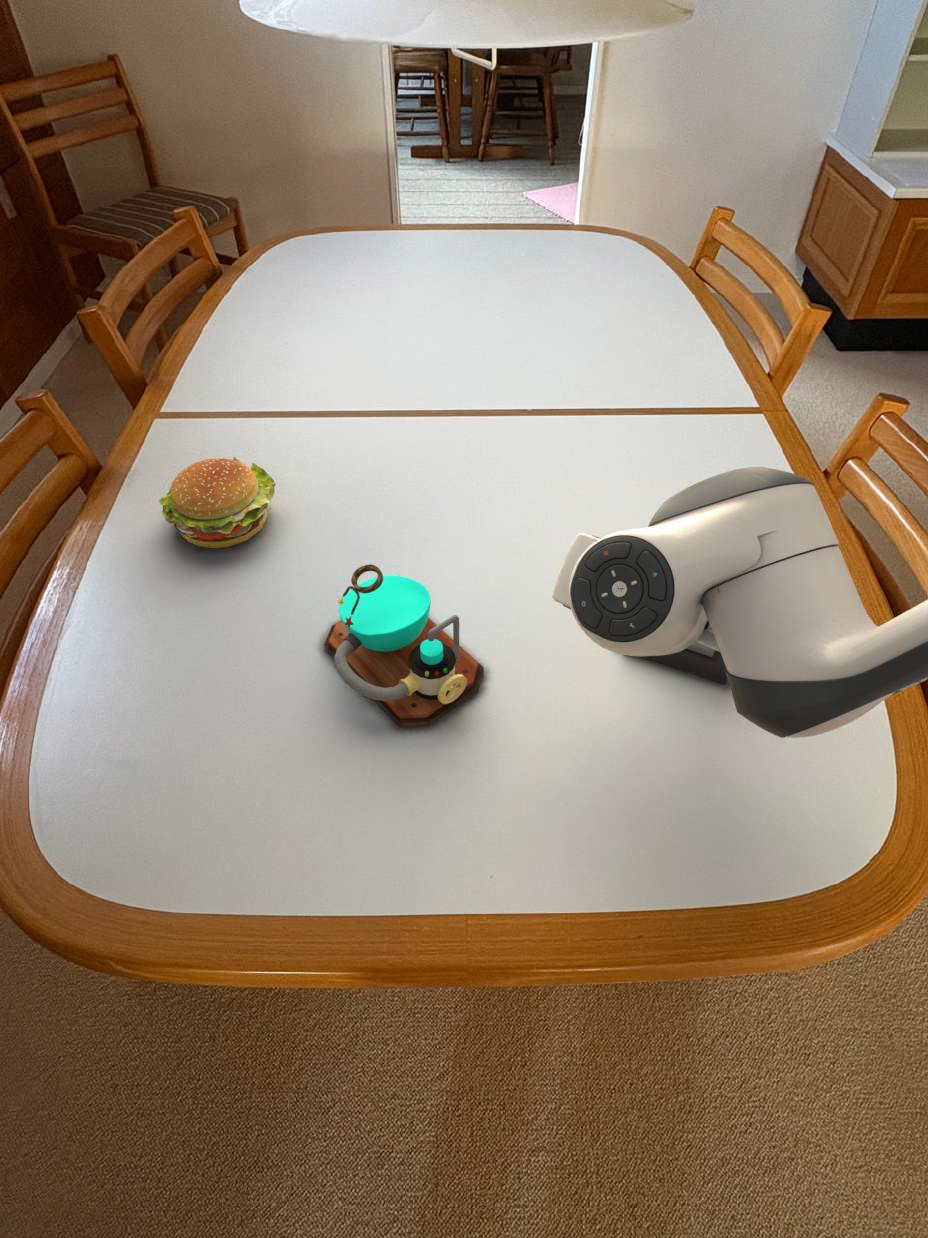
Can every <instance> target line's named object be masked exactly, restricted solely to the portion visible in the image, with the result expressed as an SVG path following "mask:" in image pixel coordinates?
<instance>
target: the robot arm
mask: <svg viewBox="0 0 928 1238" xmlns="http://www.w3.org/2000/svg"><path fill="white" fill-rule="evenodd" d="M839 546H840V542H839V540H838V538H837V536H836V533H835V531H834V528H833V525H832V524H831V520H830V518H829V516H828V514H827V512H826V510H825V507H824V505H823V502H822V500H821V498H820V496H819V494H818V492H817V489H816V487H815V484H814V483H813V482H811V481H810V480H809V479H807V478H805V477H803V476H801V475H798V474H795V473H793V472H789V471H785V470H780V469H777V468H772V467H766V466H750V467H741V468H737V469H733V470H728V471H726V472H722V473H720V474H716V475H714V476H711V477H708V478H706V479H703V480H701V481H699V482H696V483H694V484H692V485H690V486H687V487H686V488H684V489H682V490H681V491H679V492H677V493H675V494H673V495H672V496H670V497H669V498H668V499H666V500H665V501H664V502H663V504H661V506H660V507H658V509H657V511H656V512H655V513H654V515H653V516H652V518H651V519H650V521H649V524H648V526H646V527H640V528H639V527H638V528H631V529H624V530H619V531H615V532H613V533H610V534H607V535H605V536H602V537H599V536H597V535H591V534H590V535H589V534H587V533H584V532H580V533H578V534H577V535H576V536H575V539H574V540H573V542H572V544H571V545H570V547H569V549H568V551H567V554H566V555H565V558H564V560H563V562H562V564H561V567H560V569H559V572H558V574H557V577H556V580H555V584H554V587H553V591H552V595H551V598H552V599H553V601H554V602H557V603H559V604H560V605H562V606H563V607H565V608H567V609H569V610H571V613H572V615H573V617H574V619H575V621H576V623H577V625H578V626H579V627H580V629H581V630H582V632H584V634H585V635H586V636H587V637H588V638H589V639H590V640H591V641H592V642H594V643H595V644H597V646H599V647H601V648H603V649H604V650H606V651H609V652H612V653H614V654H615V653H616V654H619V655H623V656H629V657H641V656H658V655H669V654H674V653H677V652H679V651H682V650H684V649H686V648H687V647H689V646H690V645H692V644H693V643H694V642H697V643H699V644H702V645H704V646H707V647H709V648H711V649H714V650H716V651H719V652H721V655H722V658H723V660H724V663H725V666H726V669H725V672H726V675H727V682H728V685H729V689H730V693H731V696H732V700H733V704H734V707H735V710H736V713H738V714H739V715H741V716H742V717H743V718H745V719H746V720H747V721H749V722H751V723H752V724H753V725H755V726H756V727H758V728H760V729H762V730H764V731H765V732H768V733H769V734H771V735H774V736H776V737H778V738H781V739H783V738H808V737H815V736H818V735H823V734H826V733H830V732H831V731H835V730H837V729H840V728H843V727H845V726H847V725H848V724H849V725H850V724H851V723H852V722H854V721H857V720H858V719H860V718H861V717H864V716H865V715H866V714H867V713H868V712H870V711H872V710H873V709H874V708H875V707H877V706H879V705H880V704H882V702H883V701H885V700H887V699H888V698H889V697H892V696H894V695H895V694H898V693H900V692H902V691H904V690H907V689H909V688H911V687H913V686H917V685H918V684H921V683H923V682H926V681H927V680H928V599H926V600H924V601H922V602H921V603H918V604H917V605H915V606H913V607H912V608H910V609H908V610H905V611H904V612H902V613H900V614H899V615H897V616H896V617H893V618H892V619H890V620H889V621H886V622H885V623H882V624H881V625H879V626H878V625H877V624H875V622H874V621H873V619H871V617H870V616H869V614H868V613H867V610H866V609H865V606H864V604H863V601H862V599H861V596H860V595H859V592H858V590H857V586H856V585H855V582H854V580H853V577H852V575H851V573H850V571H849V568H848V565H847V563H846V561H845V558H844V556H843V553H842V551H841V549H840V547H839Z"/></svg>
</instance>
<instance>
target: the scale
mask: <svg viewBox="0 0 928 1238" xmlns="http://www.w3.org/2000/svg"><path fill="white" fill-rule="evenodd" d="M641 657H642V658H645V659H647V660H650V661H652V662H653V661H654V662H656V663H658V664H659V663H660V664H662V665H664V666H665V665H666V666H667V667H671V668H674V669H677V670H680V671H683V672H686V673H689V674H691V675H694V676H698V677H700V678H704V679H706V680H709V681H712V682H715V683H719V684H721V685H726V682H727V681H728V679H727V675H726V672H725V669H726V666H725V663H724V660H723V658H722V655H721V652H719V651H716V650H714V649H711V648H709V647H707V646H704V645H702V644H699V643H697V642H694V643H693V644H692V645H690V646H689V647H687V648H686V649H684V650H682V651H679V652H677V653H674V654H669V655H658V656H640V658H641Z"/></svg>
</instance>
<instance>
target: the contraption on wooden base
mask: <svg viewBox="0 0 928 1238" xmlns="http://www.w3.org/2000/svg"><path fill="white" fill-rule="evenodd" d="M367 572H375V573H376V574H377V576H375V577H372V578H369V579H366V580H364V581H362V582H359V583H358V580H359V577H361V576H362V575H363V574H364V573H367ZM350 583H351V585H348V586H347V588H346V590H345V591H344V592H343V594H342V598H341V597H338V602H337V603H338V614H339V617H340V621H338V622H336V623H334V624H333V625H331V627H330V629H329V632H328V634H327V636H326V638H325V640H324V643H323V647H324V649H325V650H326V651H327V653H328V654H329V655H331V656H332V658H333V660H334V661H333V662H334V664H335V665H334V666H335V670H336V672H337V674H338V675H339V676H340V678H341V679H342V681H343V682H344V683H345V684H346V685H347V686H349V687H350V688H351V689H353V690H354V691H355V692H357V694H360V695H362V696H364V697H366V698H369V699H371V700H373V701H374V702H375V703H376V704H377V705H378V706H379V707H380V708H381V709H382V710H383V711H384V712H385V713H386V714H387V715H388V716H389V717H390V718H391V720H393V721H394V723H396V725H397V726H398V727H399V728H418V727H430V726H431V725H432V724H433V723H435V722H436V721H438V720H439V719H441V718H442V717H444V716H446V715H447V714H448V713H450V712H451V711H453V710H454V709H455V708H457V707H458V706H460V705H461V704H463V703H464V702H466V701H468V700H469V699H470V698H471V697H473V696H474V695H476V694H477V693H479V691H480V687H481V683H482V679H483V675H484V669H485V668H484V666H483V665H482V664H481V663H479V662H478V661H477V660H476V659H475V658H474V657H473V656H472V655H471V654H469V652H468V651H466V650H465V649H464V648H463V647H462V646H461V645H460V617H459V615H457V614H454V615H451V616H450V617H449V618H446V619H445V620H443V621H442V622H440V623H439V624H436V623H435V622H434V621H433V619H431V618H430V617H429V616H430V611H431V610H430V609H431V594H430V591H429V590H428V589H427V588H426V586H425V585H423V584H422V583H421V582H419V581H417V580H415V579H413V578H410V577H408V576H402V575H397V574H387V575H383V572H382V570H381V569H380V567H379V566H376V565H375V564H364V565H361V566H360V567H358V568H357V569H356V570H354V571H353V574H352V576H351V580H350ZM451 625H452V637H453V638H452V637H451V636H449V635H448V633H446V632H445V631H444V629H445V628H447V627H449V626H451Z"/></svg>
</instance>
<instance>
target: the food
mask: <svg viewBox="0 0 928 1238" xmlns="http://www.w3.org/2000/svg"><path fill="white" fill-rule="evenodd" d="M275 487H276V482H275V480H274V479H273V477H272V476H270V475H269V474H268V472H266V470H265V469H263V468H262V467H260V466H259V465H257V464H256V463H251V466H250V467H249V466H248V465H247V464H245V463H243V462H241V461H240V460H239V459H237V458H236V456H233V459H232V458H230V459H229V458H225V457H218V458H217V457H216V458H206V459H202V460H199V461H197V462H196V461H195V462H194V463H192V464H191V465H188V466H187V467H185V468H184V469H183V470H181V472H179V473H178V474H177V476H175V478H174V479H173V480H172V482H171V485H170V487H169V491H168V492H167V493H166V494H165V495H164V496H162V497H160V499H159V500H158V501H159V504H160V505H161V506H162V511H161V514H162V516H163V517H164V521H165V522H166V523H168V524H169V525H171V524H172V525H173V526H174V528H175V529H176V530H177V531H178V532H179V533H180V536H182V537H183V538H184V539H185V540H186V541H187V542H188V543H190V544H193V545H195V546H197V547H200V548H208V549H209V548H210V549H221V548H229V547H232V546H235V545H238V544H241V543H244V542H246V541H248V540H249V539H252V537H253V536H254V535H256V534H257V533H258V532H260V531H261V530H262V529H263V527H264V525H265V522H266V520H267V518H268V507H269V503H271V501H272V499H273V497H274V495H275Z"/></svg>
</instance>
